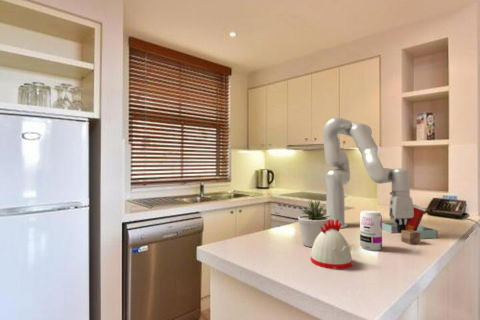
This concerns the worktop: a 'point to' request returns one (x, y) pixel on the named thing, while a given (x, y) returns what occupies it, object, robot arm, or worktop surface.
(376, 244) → the supplement can
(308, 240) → the potted plant
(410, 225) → the paper cup
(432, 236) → the caddy
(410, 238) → the walnut block
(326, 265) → the white crested dome
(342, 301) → the worktop surface
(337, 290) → the worktop surface
